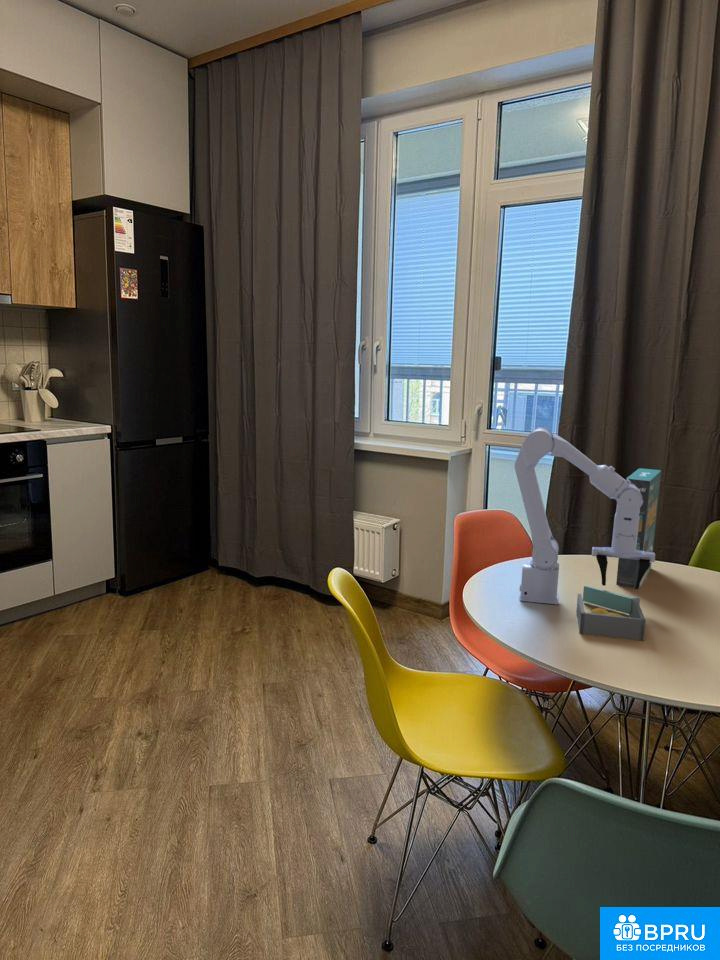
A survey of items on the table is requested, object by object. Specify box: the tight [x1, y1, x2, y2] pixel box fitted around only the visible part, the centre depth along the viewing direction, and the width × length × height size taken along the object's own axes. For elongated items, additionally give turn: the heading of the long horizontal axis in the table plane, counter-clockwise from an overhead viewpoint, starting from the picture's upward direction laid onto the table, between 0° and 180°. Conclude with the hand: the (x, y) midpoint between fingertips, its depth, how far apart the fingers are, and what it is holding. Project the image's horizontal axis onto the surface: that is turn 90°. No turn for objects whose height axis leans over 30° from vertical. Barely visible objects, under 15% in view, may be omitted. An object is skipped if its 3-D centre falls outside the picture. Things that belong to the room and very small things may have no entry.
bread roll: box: [588, 607, 623, 616], centre depth 158 cm, size 8×9×4 cm
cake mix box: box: [615, 468, 662, 590], centre depth 193 cm, size 22×6×30 cm, turn 149°
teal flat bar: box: [582, 585, 641, 615], centre depth 168 cm, size 14×2×4 cm, turn 45°
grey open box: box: [575, 593, 646, 642], centre depth 159 cm, size 15×16×5 cm
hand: (619, 586), depth 169 cm, fingers open, 7 cm apart
